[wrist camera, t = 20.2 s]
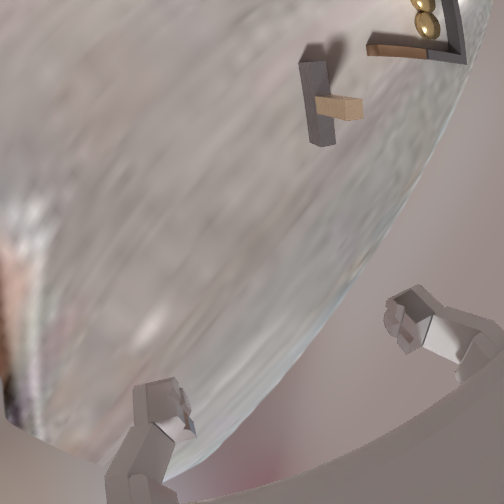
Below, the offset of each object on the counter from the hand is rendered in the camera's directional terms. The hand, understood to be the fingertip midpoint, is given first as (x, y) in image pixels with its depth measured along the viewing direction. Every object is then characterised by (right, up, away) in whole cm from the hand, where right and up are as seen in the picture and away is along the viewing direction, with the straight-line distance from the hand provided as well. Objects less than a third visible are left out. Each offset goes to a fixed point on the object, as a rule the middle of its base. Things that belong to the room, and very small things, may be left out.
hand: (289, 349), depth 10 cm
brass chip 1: (+23, +40, +17) cm, 49 cm away
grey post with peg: (+6, +21, +22) cm, 31 cm away
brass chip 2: (+24, +37, +19) cm, 48 cm away
